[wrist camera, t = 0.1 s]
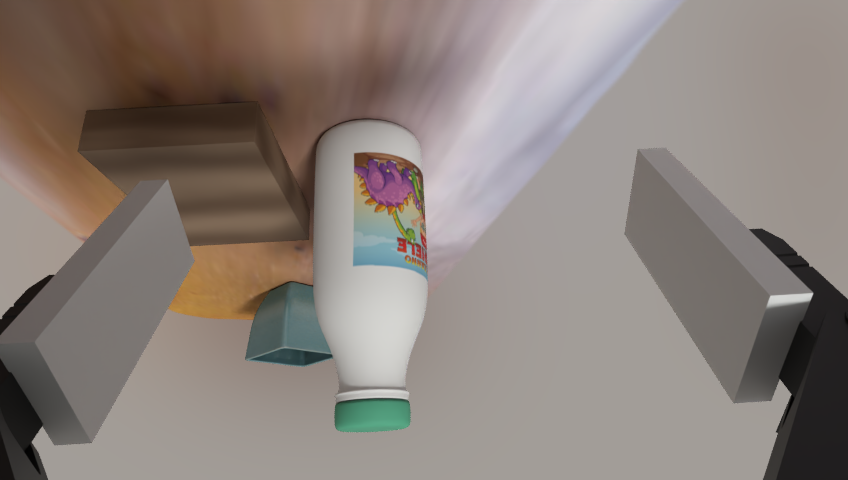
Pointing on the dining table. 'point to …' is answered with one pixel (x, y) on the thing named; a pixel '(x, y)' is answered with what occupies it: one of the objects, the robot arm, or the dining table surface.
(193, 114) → the brown flat block
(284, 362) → the flower pot
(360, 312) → the milk bottle
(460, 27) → the dining table surface
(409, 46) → the dining table surface
